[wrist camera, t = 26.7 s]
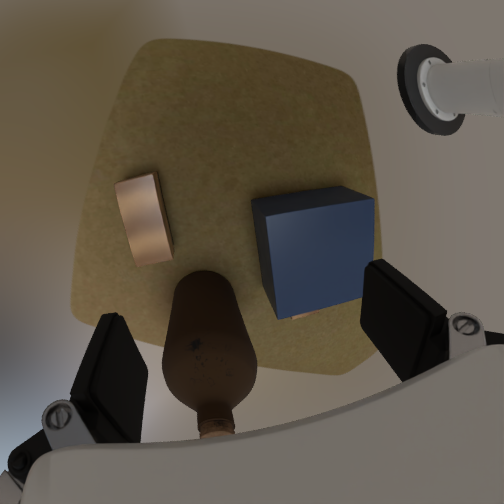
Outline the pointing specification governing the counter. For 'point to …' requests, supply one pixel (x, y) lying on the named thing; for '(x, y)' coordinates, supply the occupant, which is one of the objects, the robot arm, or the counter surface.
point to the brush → (145, 219)
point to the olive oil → (208, 352)
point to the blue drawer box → (313, 247)
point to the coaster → (304, 314)
